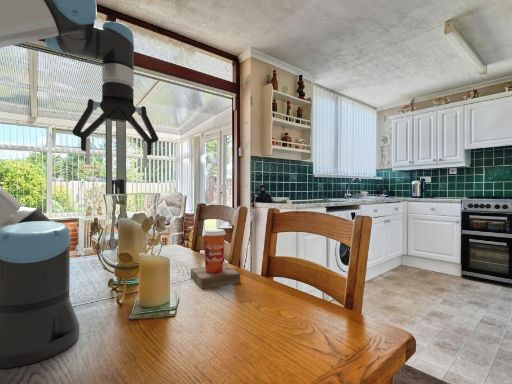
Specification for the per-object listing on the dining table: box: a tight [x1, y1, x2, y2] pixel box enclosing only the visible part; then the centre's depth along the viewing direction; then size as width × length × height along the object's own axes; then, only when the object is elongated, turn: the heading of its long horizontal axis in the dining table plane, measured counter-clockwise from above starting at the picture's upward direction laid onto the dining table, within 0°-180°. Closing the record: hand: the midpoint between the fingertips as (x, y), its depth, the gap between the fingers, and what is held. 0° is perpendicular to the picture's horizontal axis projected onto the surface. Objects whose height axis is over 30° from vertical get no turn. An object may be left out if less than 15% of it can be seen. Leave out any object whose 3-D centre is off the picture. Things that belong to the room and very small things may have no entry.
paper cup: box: [202, 228, 227, 274], centre depth 96 cm, size 8×8×14 cm
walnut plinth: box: [190, 264, 241, 289], centre depth 96 cm, size 13×13×3 cm
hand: (117, 165), depth 75 cm, fingers open, 13 cm apart
